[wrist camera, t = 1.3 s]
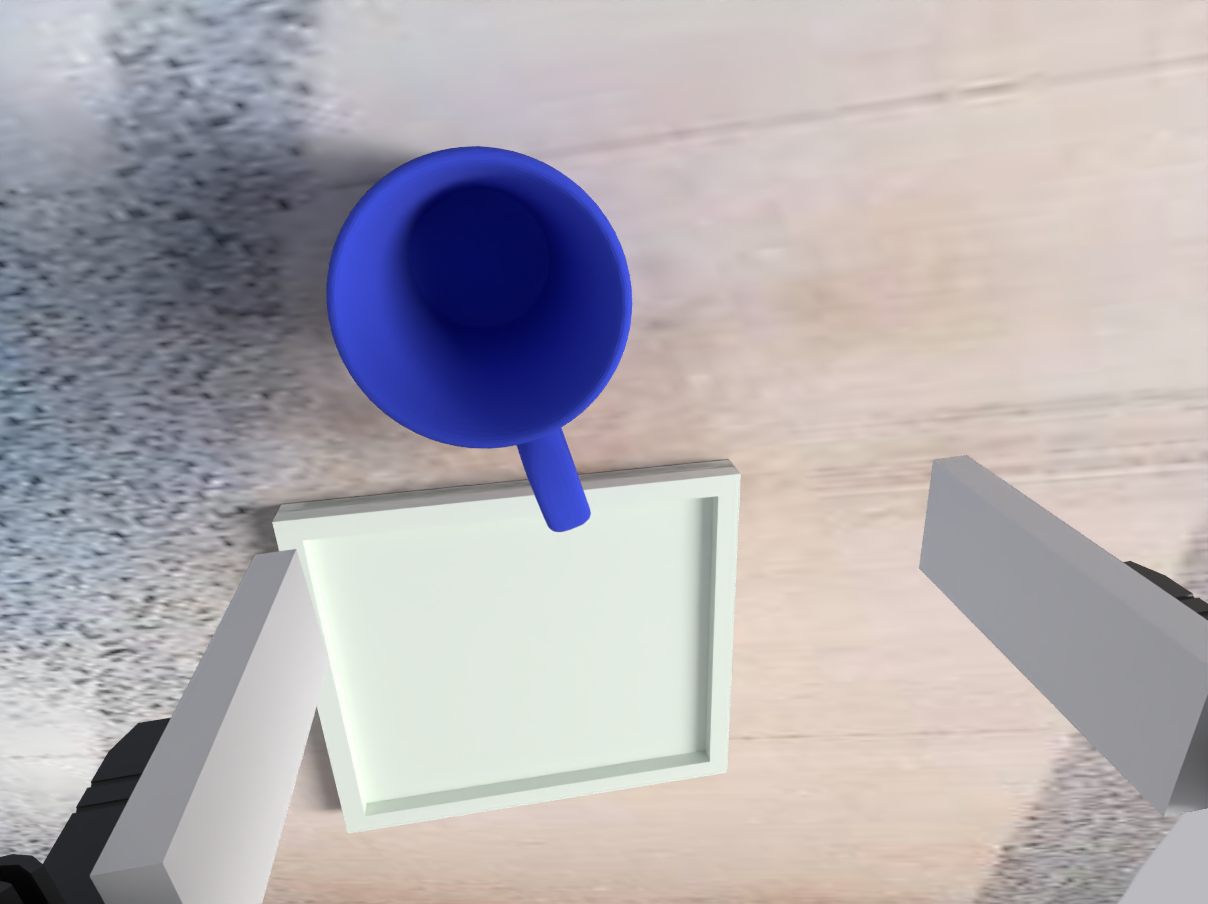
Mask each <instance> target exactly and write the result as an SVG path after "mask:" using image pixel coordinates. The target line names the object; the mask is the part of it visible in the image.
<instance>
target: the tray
mask: <svg viewBox="0 0 1208 904" xmlns="http://www.w3.org/2000/svg"><path fill="white" fill-rule="evenodd" d="M578 476H579V479H580V482H581V485H582V487H583V490H584V493H585V496H586V499H587V502H588V504H589V507H590V511H591V515H590V518H589V520H588V521H586V522H585V523H584V524H583V525H581V526H578V527H576V528H574V529H571V530H568V531H564V532H554V531H552V530H551V529H549V527H548V526H547V524H546V521H545V519H544V517H543V514H542V512H541V510H540V507H539V505H538V502H537V500H536V497H535V495H534V493H533V490H532V488H531V485H530V483H529V480H521V481H511V482H501V483H491V484H481V485H471V486H461V487H451V488H441V489H431V490H421V491H411V492H401V493H391V494H381V495H371V496H361V497H351V498H341V499H331V500H321V501H311V502H301V503H291V504H281V506H280V508H279V510H278V512H277V514H276V516H275V518H274V520H273V522H272V524H273V528H274V532H275V536H276V540H277V544H278V548H279V551H285V550H292V549H297V553H298V556H299V560H300V563H301V566H302V570H303V573H304V577H305V580H306V583H307V587H308V590H309V594H310V597H311V600H312V604H313V607H314V611H315V614H316V617H317V621H318V624H319V628H320V631H321V634H322V638H323V641H324V645H325V648H326V651H327V655H328V658H329V664H328V667H327V671H326V675H325V678H324V682H323V685H322V689H321V693H320V696H319V700H318V703H317V709H318V713H319V717H320V721H321V725H322V730H323V734H324V738H325V742H326V746H327V750H328V754H329V758H330V763H331V767H332V771H333V775H334V779H335V783H336V787H337V791H338V796H339V800H340V804H341V808H342V812H343V816H344V820H345V824H346V828H347V833H348V834H349V833H355V832H361V831H367V830H374V829H380V828H386V827H392V826H398V825H405V824H411V823H417V822H423V821H430V820H436V819H442V818H448V817H454V816H461V815H467V814H473V813H479V812H485V811H492V810H498V809H504V808H510V807H516V806H523V805H529V804H535V803H541V802H548V801H554V800H560V799H566V798H572V797H579V796H585V795H591V794H597V793H603V792H610V791H616V790H622V789H628V788H634V787H641V786H647V785H653V784H659V783H666V782H672V781H678V780H684V779H690V778H697V777H703V776H709V775H715V774H721V773H727V762H728V740H729V719H730V697H731V675H732V653H733V631H734V609H735V587H736V565H737V543H738V521H739V499H740V477H741V474H740V472H739V471H738V470H737V469H736V467H735V466H734V465H733V464H732V462H731V461H730V460H720V461H710V462H701V463H691V464H681V465H671V466H661V467H651V468H641V469H631V470H621V471H611V472H601V473H591V474H581V475H578Z"/></svg>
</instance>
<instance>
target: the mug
mask: <svg viewBox="0 0 1208 904" xmlns="http://www.w3.org/2000/svg"><path fill="white" fill-rule="evenodd" d="M327 309H328V317H329V322H330V326H331V331H332V335H333V338H334V341H335V344H336V347H337V349H338V352H339V354H340V356H341V358H342V360H343V362H344V364H345V366H346V368H347V369H348V371H349V373H350V375H351V376H352V378H353V379H354V381H355V382H356V383H357V385H358V386H359V387H360V389H361V390H362V391H363V392H364V393H365V394H366V396H367V397H368V398H369V399H370V400H371V401H372V402H373V403H374V404H375V405H376V406H377V407H378V408H379V409H380V410H382V411H383V412H384V413H385V414H386V415H388V416H389V417H391V418H392V419H393V420H395V421H396V422H398V423H399V424H401V425H402V426H404V427H406V428H408V429H410V430H412V431H413V432H415V433H417V434H420V435H422V436H424V437H427V438H429V439H432V440H435V441H438V442H441V443H445V444H449V445H454V446H460V447H467V448H501V447H508V446H513V445H517V447H518V450H519V454H520V457H521V460H522V463H523V466H524V469H525V471H526V474H527V477H528V480H529V483H530V485H531V488H532V490H533V493H534V495H535V497H536V500H537V502H538V505H539V507H540V510H541V512H542V514H543V517H544V519H545V521H546V524H547V526H548V527H549V529H551V530H552V531H554V532H564V531H568V530H571V529H574V528H576V527H578V526H581V525H583V524H584V523H585V522H586V521H588V520H589V518H590V515H591V511H590V507H589V504H588V502H587V499H586V496H585V493H584V490H583V487H582V485H581V482H580V479H579V476H578V473H577V471H576V468H575V465H574V462H573V459H572V456H571V454H570V451H569V448H568V445H567V442H566V440H565V437H564V434H563V431H562V429H561V427H562V426H564V425H566V424H567V423H569V422H570V421H572V420H573V419H574V418H576V417H577V416H578V415H579V414H581V413H582V412H583V411H584V410H585V409H586V408H587V407H588V406H589V405H590V404H591V403H592V402H593V401H594V400H595V399H596V398H597V397H598V395H599V394H600V393H601V392H602V390H603V389H604V388H605V386H606V385H607V383H608V382H609V380H610V379H611V377H612V375H613V373H614V372H615V370H616V368H617V366H618V364H619V362H620V359H621V357H622V355H623V352H624V349H625V346H626V342H627V339H628V334H629V329H630V323H631V314H632V289H631V281H630V274H629V270H628V266H627V262H626V258H625V255H624V252H623V250H622V247H621V244H620V242H619V240H618V238H617V236H616V233H615V231H614V230H613V228H612V226H611V225H610V223H609V221H608V219H607V218H606V216H605V215H604V214H603V212H602V211H601V210H600V208H599V207H598V206H597V204H596V203H595V202H594V201H593V200H592V199H591V198H590V197H589V196H588V194H587V193H586V192H585V191H584V190H583V189H582V188H581V187H579V186H578V185H577V184H576V183H574V182H573V181H572V180H571V179H569V178H568V177H567V176H565V175H564V174H562V173H561V172H559V171H558V170H556V169H554V168H553V167H551V166H549V165H547V164H545V163H543V162H541V161H539V160H537V159H534V158H532V157H529V156H526V155H524V154H520V153H517V152H514V151H509V150H504V149H499V148H491V147H479V146H476V147H458V148H451V149H445V150H440V151H436V152H432V153H429V154H426V155H423V156H421V157H418V158H416V159H413V160H411V161H409V162H407V163H405V164H403V165H401V166H399V167H398V168H396V169H394V170H393V171H391V172H390V173H389V174H387V175H386V176H384V177H383V178H382V179H381V180H379V181H378V182H377V183H376V184H375V185H374V186H373V187H372V188H370V189H369V190H368V191H367V193H366V194H365V195H364V196H363V197H362V198H361V199H360V200H359V202H358V203H357V204H356V206H355V207H354V208H353V210H352V211H351V212H350V214H349V216H348V218H347V219H346V221H345V223H344V225H343V226H342V228H341V230H340V233H339V235H338V237H337V240H336V242H335V245H334V248H333V252H332V256H331V259H330V263H329V270H328V277H327Z"/></svg>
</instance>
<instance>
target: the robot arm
mask: <svg viewBox="0 0 1208 904" xmlns="http://www.w3.org/2000/svg"><path fill="white" fill-rule="evenodd" d="M919 569H920V570H921V571H922V572H923V573H924V574H925V575H926V576H927V577H928V578H929V579H930V580H931V581H932V582H933V583H934V584H935V585H936V586H937V587H938V588H939V589H940V590H941V591H942V592H943V593H944V594H945V595H946V596H947V597H948V598H949V599H950V600H951V601H952V602H953V603H954V604H955V605H956V606H957V607H958V608H959V610H960V611H961V612H962V613H963V614H964V615H965V616H966V617H967V618H968V619H969V620H970V621H971V622H972V623H973V624H974V625H975V626H976V627H977V628H978V629H979V630H980V631H981V632H982V633H983V634H984V635H985V636H986V637H987V638H988V639H989V640H990V641H991V642H992V643H993V644H994V645H995V646H996V647H997V648H998V649H999V650H1000V651H1001V652H1002V653H1003V654H1004V655H1005V656H1006V657H1007V658H1008V659H1009V660H1010V661H1011V662H1012V663H1013V664H1014V666H1015V667H1016V668H1017V669H1018V670H1019V671H1020V672H1021V673H1022V674H1023V675H1024V676H1025V677H1026V678H1027V679H1028V680H1029V681H1030V682H1031V683H1032V684H1033V685H1034V686H1035V687H1036V688H1037V689H1038V690H1039V691H1040V692H1041V693H1042V694H1043V695H1044V696H1045V697H1046V698H1047V699H1048V700H1049V701H1050V702H1051V703H1052V704H1053V705H1054V706H1055V707H1056V708H1057V709H1058V710H1059V711H1060V712H1061V713H1062V714H1063V715H1064V716H1065V717H1066V718H1067V719H1068V721H1069V722H1070V723H1071V724H1072V725H1073V726H1074V727H1075V728H1076V729H1077V730H1078V731H1079V732H1080V733H1081V734H1082V735H1083V736H1084V737H1085V738H1086V739H1087V740H1088V741H1089V742H1090V743H1091V744H1092V745H1093V746H1094V747H1095V748H1096V749H1097V750H1098V751H1099V752H1100V753H1101V754H1102V755H1103V756H1104V757H1105V758H1106V759H1107V760H1108V761H1109V762H1110V763H1111V764H1112V765H1113V766H1114V767H1115V768H1116V769H1117V770H1118V771H1119V772H1120V773H1121V774H1122V775H1123V777H1124V778H1125V779H1126V780H1127V781H1128V782H1129V783H1130V784H1131V785H1132V786H1133V787H1134V788H1135V789H1136V790H1137V791H1138V792H1139V793H1140V794H1141V795H1142V796H1143V797H1144V798H1145V799H1146V800H1147V801H1148V802H1149V803H1150V804H1151V805H1152V806H1153V807H1154V808H1155V809H1156V810H1157V811H1158V812H1159V813H1160V814H1161V815H1162V816H1163V817H1167V816H1172V815H1177V814H1182V813H1187V812H1192V811H1196V810H1201V809H1206V808H1208V604H1207V603H1206V602H1204V601H1203V600H1201V599H1200V598H1194V596H1193V594H1192V593H1191V592H1189V591H1188V590H1186V589H1185V588H1183V587H1182V586H1180V585H1179V584H1177V583H1176V582H1174V581H1173V580H1171V579H1170V578H1168V577H1167V576H1165V575H1163V574H1160V573H1158V572H1155V571H1153V570H1151V569H1148V568H1146V567H1143V566H1141V565H1139V564H1136V563H1134V562H1131V561H1128V562H1122V561H1120V560H1119V559H1117V558H1116V557H1115V556H1113V555H1112V554H1110V553H1109V552H1107V551H1106V550H1104V549H1103V548H1101V547H1100V546H1098V545H1097V544H1096V543H1094V542H1093V541H1091V540H1090V539H1088V538H1087V537H1085V536H1084V535H1082V534H1081V533H1080V532H1078V531H1077V530H1075V529H1074V528H1072V527H1071V526H1069V525H1068V524H1066V523H1065V522H1064V521H1062V520H1061V519H1059V518H1058V517H1056V516H1055V515H1053V514H1052V513H1050V512H1049V511H1047V510H1046V509H1045V508H1043V507H1042V506H1040V505H1039V504H1037V503H1036V502H1034V501H1033V500H1031V499H1030V498H1029V497H1027V496H1026V495H1024V494H1023V493H1021V492H1020V491H1018V490H1017V489H1015V488H1014V487H1013V486H1011V485H1010V484H1008V483H1007V482H1005V481H1004V480H1002V479H1001V478H999V477H998V476H997V475H995V474H994V473H992V472H991V471H989V470H988V469H986V468H985V467H983V466H982V465H980V464H979V463H978V462H976V461H975V460H973V459H972V458H970V457H969V456H967V455H964V456H957V457H950V458H943V459H935V460H933V465H932V473H931V481H930V489H929V496H928V504H927V512H926V519H925V527H924V535H923V542H922V550H921V558H920V565H919ZM328 664H329V658H328V655H327V651H326V648H325V645H324V641H323V638H322V634H321V631H320V628H319V624H318V621H317V617H316V614H315V611H314V607H313V604H312V600H311V597H310V594H309V590H308V587H307V583H306V580H305V577H304V573H303V570H302V566H301V563H300V560H299V556H298V553H297V549H292V550H285V551H278V552H271V553H264V554H256V555H255V556H254V558H253V560H252V562H251V564H250V566H249V568H248V570H247V572H246V573H245V575H244V577H243V579H242V581H241V583H240V585H239V587H238V589H237V591H236V593H235V595H234V597H233V599H232V601H231V603H230V605H229V606H228V608H227V610H226V612H225V614H224V616H223V618H222V620H221V622H220V624H219V626H218V628H217V630H216V632H215V634H214V636H213V637H212V639H211V641H210V643H209V645H208V647H207V649H206V651H205V653H204V655H203V657H202V659H201V661H200V663H199V665H198V667H197V668H196V670H195V672H194V674H193V676H192V678H191V680H190V682H189V684H188V686H187V688H186V690H185V692H184V694H183V696H182V698H181V700H180V701H179V703H178V705H177V707H176V709H175V711H174V713H173V715H172V717H171V718H166V719H160V720H154V721H148V722H142V723H138V724H137V725H136V726H135V727H134V728H133V729H132V730H131V731H130V732H129V733H128V734H126V735H125V736H124V737H123V738H122V739H121V740H120V741H119V742H118V743H117V744H116V745H115V746H114V747H113V748H112V749H111V750H110V751H109V752H108V754H107V755H106V757H105V759H104V761H103V762H102V764H101V766H100V767H99V769H98V771H97V772H96V774H95V776H94V778H93V779H92V781H91V787H90V788H87V790H86V791H85V793H84V795H83V796H82V798H81V800H80V801H79V803H78V805H77V807H76V808H77V811H76V813H73V814H72V815H71V817H70V819H69V820H68V822H67V824H66V825H65V827H64V829H63V830H62V832H61V834H60V836H59V837H58V839H57V841H56V842H55V844H54V846H53V847H52V849H51V851H50V853H49V854H48V856H47V858H46V859H45V861H44V863H43V864H42V863H40V862H39V861H38V860H37V859H36V858H34V857H33V856H30V855H17V854H11V855H7V856H3V857H0V904H262V902H263V898H264V895H265V891H266V887H267V884H268V880H269V877H270V873H271V869H272V866H273V862H274V859H275V855H276V851H277V848H278V844H279V840H280V837H281V833H282V830H283V826H284V822H285V819H286V815H287V812H288V808H289V804H290V801H291V797H292V794H293V790H294V786H295V783H296V779H297V776H298V772H299V768H300V765H301V761H302V758H303V754H304V750H305V747H306V743H307V740H308V736H309V732H310V729H311V725H312V721H313V718H314V714H315V711H316V707H317V703H318V700H319V696H320V693H321V689H322V685H323V682H324V678H325V675H326V671H327V667H328Z"/></svg>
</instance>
